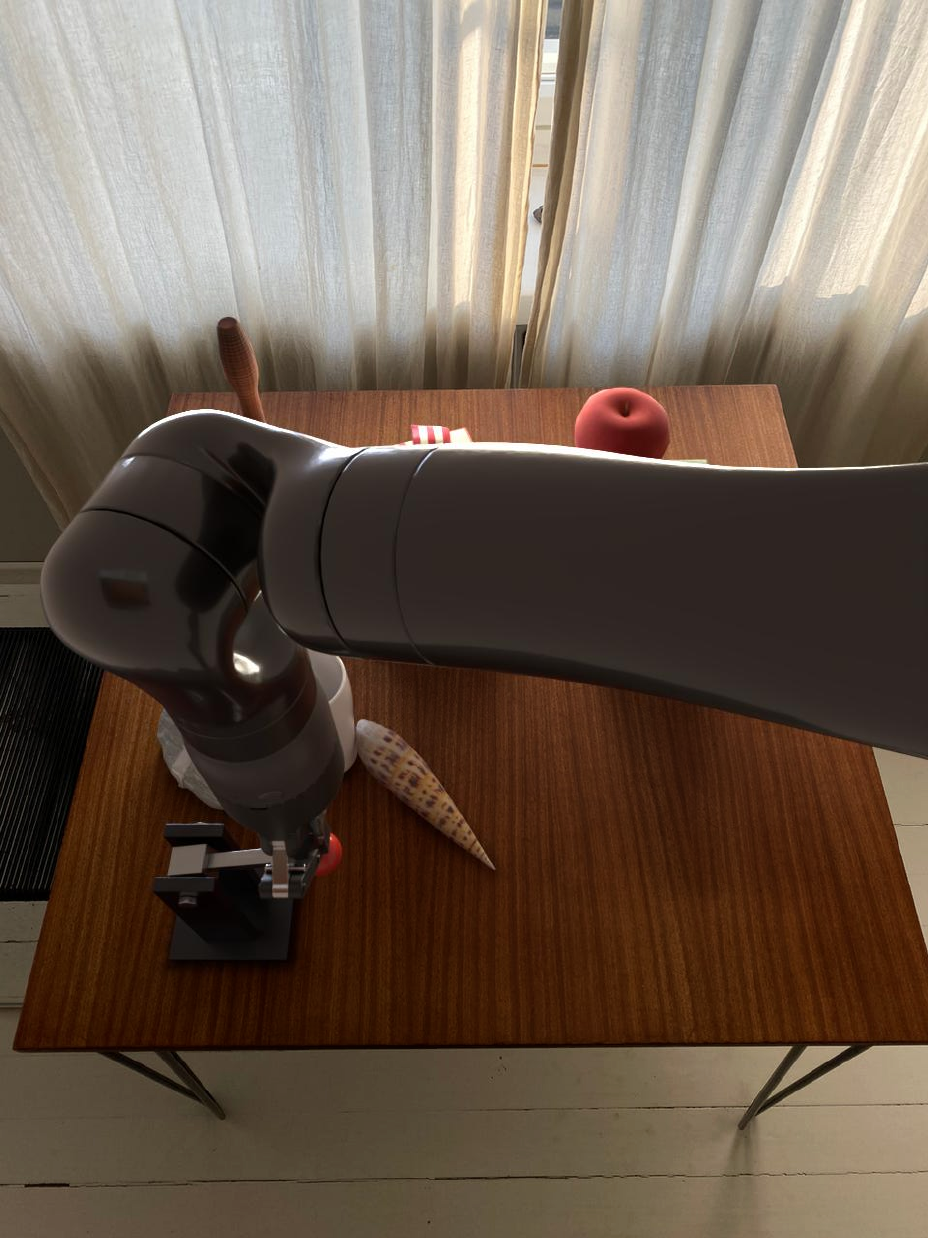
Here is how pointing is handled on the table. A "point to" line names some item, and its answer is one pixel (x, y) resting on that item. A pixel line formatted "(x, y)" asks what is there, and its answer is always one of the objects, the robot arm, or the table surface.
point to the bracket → (223, 908)
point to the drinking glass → (337, 699)
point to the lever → (235, 860)
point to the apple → (623, 424)
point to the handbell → (239, 366)
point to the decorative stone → (182, 761)
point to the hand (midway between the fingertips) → (314, 844)
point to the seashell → (413, 783)
